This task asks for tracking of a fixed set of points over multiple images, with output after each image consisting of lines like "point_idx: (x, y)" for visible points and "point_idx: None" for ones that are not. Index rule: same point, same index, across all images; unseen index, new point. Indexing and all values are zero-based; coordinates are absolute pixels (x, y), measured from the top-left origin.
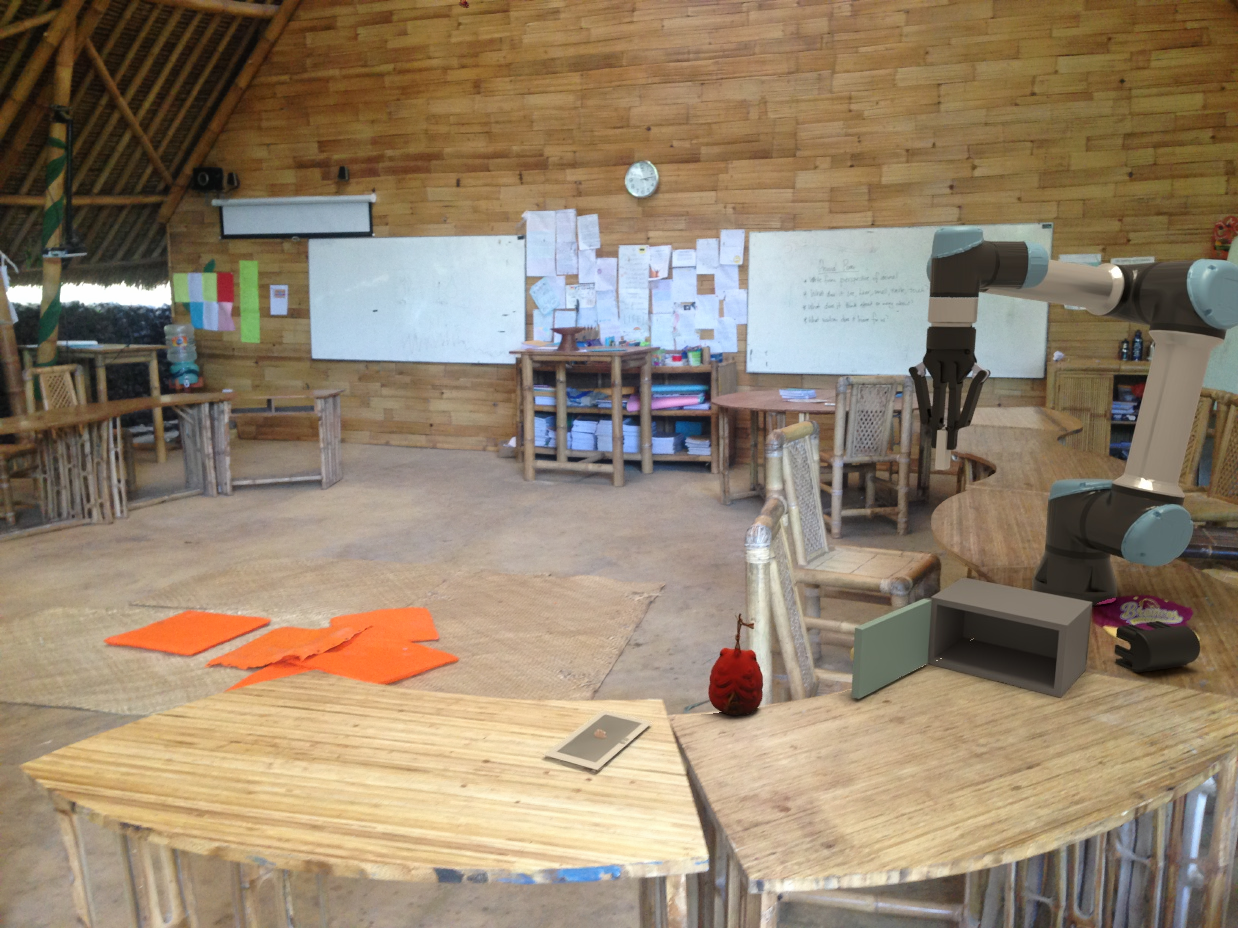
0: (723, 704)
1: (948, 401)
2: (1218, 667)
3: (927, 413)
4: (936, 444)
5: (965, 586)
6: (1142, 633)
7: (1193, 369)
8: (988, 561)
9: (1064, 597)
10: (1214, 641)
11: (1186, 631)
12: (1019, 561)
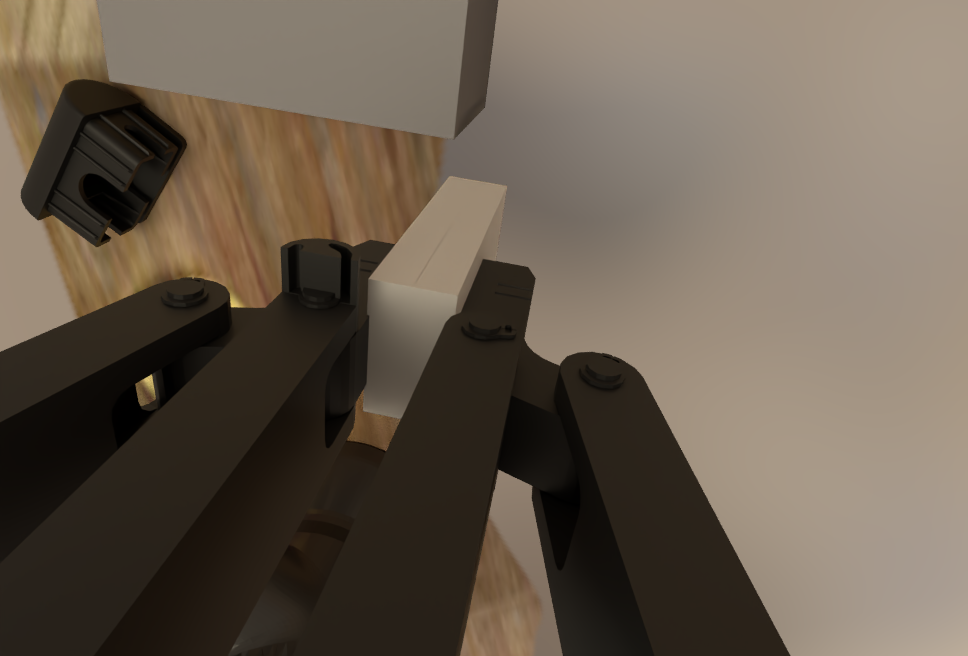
0: None
1: (204, 495)
2: (54, 216)
3: (571, 447)
4: (480, 244)
5: (423, 36)
6: (71, 112)
7: None
8: (536, 623)
9: (174, 83)
10: None
11: (28, 191)
12: (485, 638)
